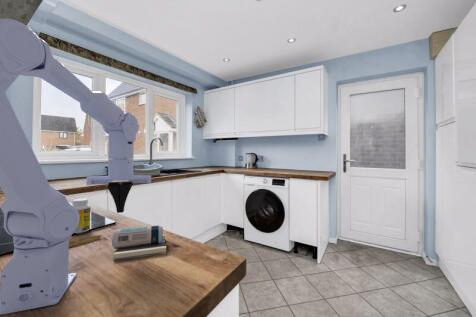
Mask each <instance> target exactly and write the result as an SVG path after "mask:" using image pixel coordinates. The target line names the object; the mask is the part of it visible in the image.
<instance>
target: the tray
mask: <svg viewBox="0 0 476 317" xmlns="http://www.w3.org/2000/svg"><path fill="white" fill-rule="evenodd" d="M165 237H166V235H165V234H164V233H163V242H161V243H159V244H152V245H144V246H136V247H127V248H119V249H116V251H115V252H113V256H112V259H113V262H114V261H123V260H129V259H137V258H143V257H151V256H159V255H164V254H167V246H166V239H165Z"/></svg>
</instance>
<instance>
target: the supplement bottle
mask: <svg viewBox="0 0 476 317" xmlns="http://www.w3.org/2000/svg"><path fill="white" fill-rule="evenodd" d="M71 205H72V206H74V207H75V208H76V209H77V210H78V212H79V215H80V220H79V224H78V227H77V229H76V230H75V232H74V233H76V234H82V233H87V232H88V231H89V230H90V229H91V210H92V209H91V208H92V207H91V205H90V204H89V199H88V198H76V199H73V200H72V204H71Z"/></svg>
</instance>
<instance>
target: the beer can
mask: <svg viewBox="0 0 476 317" xmlns="http://www.w3.org/2000/svg"><path fill="white" fill-rule="evenodd" d="M163 228H164V227H163V226H161V225H151V226H149V225H148V226H139V227H128V228H117V229H116V228H115V230H114V231H113V233H112V236H111V237H112V239H111V246H112V247H113V248H114V250H117V249H119V248H127V247H136V246H144V245H152V244H159V243H161V242H163V234H164V229H163Z"/></svg>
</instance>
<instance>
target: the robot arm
mask: <svg viewBox="0 0 476 317" xmlns="http://www.w3.org/2000/svg"><path fill="white" fill-rule="evenodd" d="M19 76H25V77H34V78H40V79H42V80H43V81H45V82H46V83H49V85H51V86H53V87H54V88H56V89H57V90H59V91H61V92H62V93H64V94H65V95H66V96H69V97H70V98H72V99H73V100H75V101H77V102H78V103H79V106H80V110H81V111H82V112H83V113H85V114H86V115H88V116H89V117H90V118H92V119H93V120H95V121H96V122H98V123H99V124H100V125H101V126H102V128H103V130H104V132H105V133H106V134H107V135H108V146H107V148H108V150H107V151H108V152H107V154H108V156H107V158H108V159H107V161H108V162H107V164H108V165H107V166H108V167H107V171H108V173H107V175H97V176H94V175H93V176H91V175H90V176H87V177H86V185H87V186H92V185H107V190H108V192H109V194H110V195H111V198H112V199H113V202H114V205H115V208H116V210H115V211H116V213H117V214H119V213H121V214H122V213H124V212H125V206H126V202H127V199H128V195H130V194H129V193H130V192H131V190H132V187H133V186H134V185H133V184H151V183H152V175H150V174H149V175H135V174H134V143H135V141H136V139H137V133H138V132H139V129H140V125H139V122H138V119H137V117H136V116H135V115H133V114H132V113H131V112H125V111H124V110H123V109H122V108H121V107H120V106H118V105H117V104H116V103H115V102H113V101H112V100H111V99H110V98H109V97H108V95H107V94H106V93H105V92H102V91H99V90H98V91H97V90H95V91H92V90H91V89H90V88H89V87H88V86H87V85H86V84H85V83H84V82H82V81H81V79H80V78H78V77H77V76H76V75H75V74H74V73H73V72H72V71H70V70H69V69H68V67H66V66H65V65H64V64H63V63H62V62H61V61H60V60H59V59H58V58H56V57H55V56H54V54H53V52H52V49H51V47H50V44H49V43H48V42H46V40H43V39H42V38H41V37H39V36H38V34H37V33H36V32H35V31H34V30H33V29H31V28H30V27H29V26H28V25H26V24H24V23H23V22H21V21H19V20H17V19H16V20H15V19H11V18H1V19H0V189H1V191H2V193H3V194H4V195H5V199H4V201H3V202H2V203H1V205H0V209H1V211H2V213H3V229H4V231H5V232H6V233H7V234H9V235H10V236H12V240H13V241H12V243H13V246H14V247H13V254H12V257H11V259H10V260H9V261H7V263H6V264H5V265H4V266H3V268H2V271H1V273H0V316H1V315H7V314H11V313H16V312H22V311H27V310H33V309H39V308H42V307H48V306H53V305H56V304H58V303H59V301H60V300H61V299H62V298H63V296H64V294H65V293H66V291H67V290H68V288H69V287H70V286H71V284H72V283H73V281H74V279H75V278H76V276H77V273H76V272H72V273H69V259H70V258H69V252H70V250H69V248H70V247H69V239H70V238H71V236H72V235H73V233H74V232H75V230H76V229H77V227H78V224H79V220H80V215H79V212H78V210H77V209H76V208H75V207H74V206H73V204H70V202H69V201H68V200H67V198H66V195H64V194H63V193H61V191H59V190H57V189H56V188H54V186H52V185H51V184H50V183H49V181H48V178H47V177H46V175H45V173H44V171H43V169H42V167H41V164H40V163H39V160H38V158H37V156H36V154H35V152H34V149H33V148H32V146H31V143H30V142H29V140H28V137H27V134H25V132H24V129H23V128H22V125H21V123H20V121H19V119H18V117H17V115H16V113H15V110H14V109H13V107H12V105H11V102H10V100H9V98H8V96H7V93H6V92H7V90H8V89H9V88H10V87H11V85H12V84H13V83H14V82H15V81H16V79H17V78H18V77H19Z"/></svg>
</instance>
